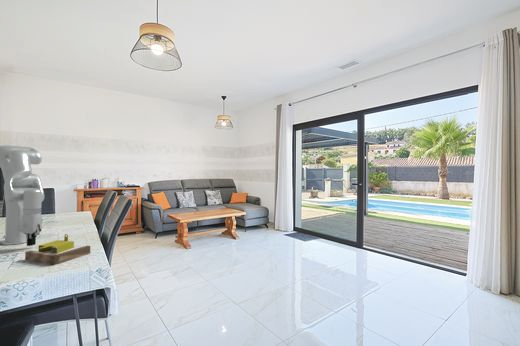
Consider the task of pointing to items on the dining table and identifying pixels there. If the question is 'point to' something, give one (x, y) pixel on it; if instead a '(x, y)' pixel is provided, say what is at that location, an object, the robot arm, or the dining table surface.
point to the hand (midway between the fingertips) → (31, 245)
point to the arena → (56, 255)
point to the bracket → (58, 245)
